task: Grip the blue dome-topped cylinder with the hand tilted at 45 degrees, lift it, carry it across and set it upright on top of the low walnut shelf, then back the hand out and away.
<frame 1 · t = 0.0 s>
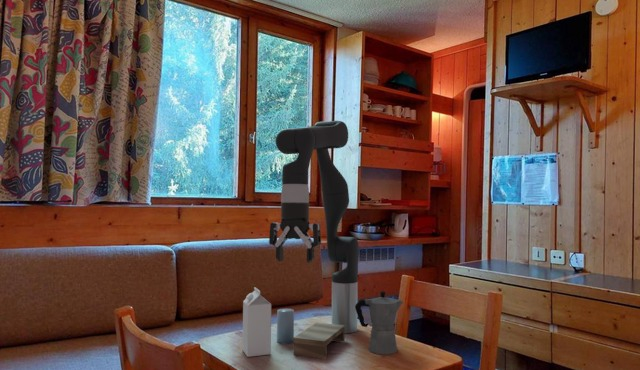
hand: (294, 261, 123), 29 cm above the table, tool pointing down, fingers open, 8 cm apart
blue dome-topped cylinder: (285, 341, 150), on the table
coffeepot: (379, 350, 141), on the table
milk carton: (256, 353, 138), on the table
shelf: (320, 347, 144), on the table
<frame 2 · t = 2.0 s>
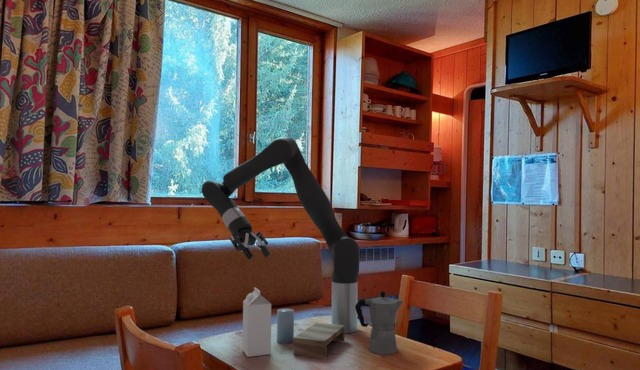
hand: (260, 256, 158), 27 cm above the table, tool tilted 45°, fingers open, 8 cm apart
nothing on the table moved.
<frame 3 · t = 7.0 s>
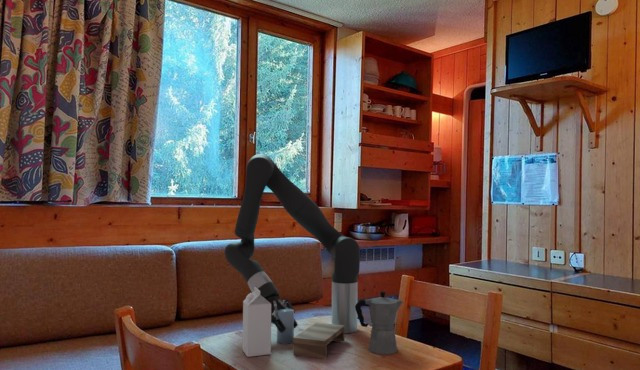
hand: (289, 328, 149), 4 cm above the table, tool tilted 45°, fingers closed on blue dome-topped cylinder, 5 cm apart
blue dome-topped cylinder: (285, 341, 150), on the table, touching gripper
everything else where it was.
when the fingers open (11 cm above the table, at t = 11.5 s): blue dome-topped cylinder drops 1 cm, resting on shelf.
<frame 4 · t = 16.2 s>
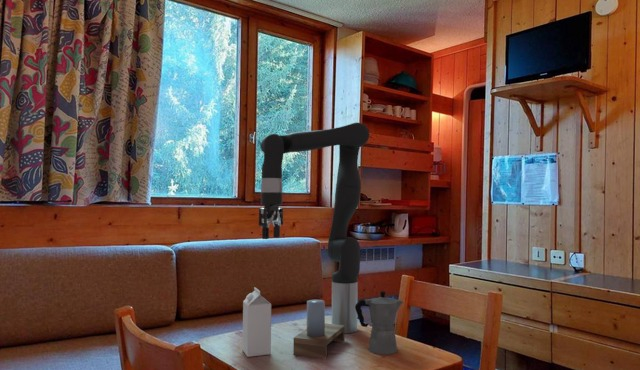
hand: (271, 238, 159), 33 cm above the table, tool pointing down, fingers open, 8 cm apart
blue dome-topped cylinder: (315, 334, 140), point 5 cm above the table, touching shelf
everything else where it was.
at the end: blue dome-topped cylinder inside the target area on the shelf (3.9 cm from its centre), point 5.0 cm above the shelf's base; blue dome-topped cylinder tilted 0°; the gripper is holding nothing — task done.
